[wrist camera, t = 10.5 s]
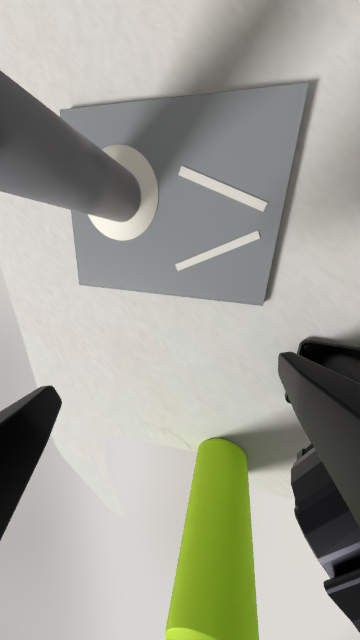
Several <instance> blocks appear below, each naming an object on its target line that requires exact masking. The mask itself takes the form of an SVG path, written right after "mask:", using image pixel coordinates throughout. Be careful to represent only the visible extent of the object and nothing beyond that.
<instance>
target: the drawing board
mask: <svg viewBox="0 0 360 640" xmlns="http://www.w3.org/2000/svg"><path fill="white" fill-rule="evenodd" d="M308 85H309V82H308V83H299V84H289V85H280V86H271V87H262V88H253V89H244V90H235V91H225V92H216V93H207V94H198V95H189V96H180V97H171V98H161V99H152V100H143V101H134V102H125V103H116V104H107V105H97V106H88V107H79V108H70V109H61V110H60V117H61V118H62V119H63V120H64V121H66V122H67V123H68V124H69V125H71V126H72V127H73V128H75V129H76V130H77V131H78V132H80V133H81V134H82V135H84V136H85V137H86V138H87V139H89V140H90V141H91V142H92V143H94V144H95V145H96V146H98V147H99V148H100V149H101V150H103V151H104V152H105V153H107V154H108V155H109V156H110V157H112V158H113V159H114V160H116V161H117V162H118V163H119V164H121V165H122V166H123V167H125V168H126V169H127V170H128V171H130V172H131V173H132V174H133V175H134V176H135V178H136V179H137V181H138V184H139V187H140V191H141V201H140V206H139V209H138V211H137V213H136V214H135V215H134V216H133V217H132V218H131V219H130V220H128V221H126V222H116V221H112V220H108V219H104V218H100V217H97V216H93V215H89V214H85V213H81V212H78V211H74V210H71V214H72V223H73V232H74V241H75V250H76V259H77V268H78V277H79V285H85V286H94V287H103V288H112V289H120V290H129V291H138V292H146V293H155V294H164V295H173V296H181V297H190V298H199V299H208V300H216V301H225V302H234V303H242V304H251V305H260V306H263V303H264V298H265V294H266V289H267V284H268V279H269V274H270V269H271V264H272V260H273V255H274V250H275V245H276V240H277V235H278V231H279V226H280V221H281V216H282V211H283V206H284V202H285V197H286V192H287V187H288V182H289V177H290V172H291V168H292V163H293V158H294V153H295V148H296V143H297V139H298V134H299V129H300V124H301V119H302V114H303V109H304V105H305V100H306V95H307V90H308Z"/></svg>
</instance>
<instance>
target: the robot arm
mask: <svg viewBox="0 0 360 640" xmlns="http://www.w3.org/2000/svg"><path fill="white" fill-rule="evenodd" d="M306 345H309V347H308V348H304V346H306ZM278 373H279V377H280V379H281V382H282V384H283V386H284V388H285V391H286V393H285V399H286V401H287V402H288V403H291V404H292V407H293V409H294V411H295V413H296V416H297V418H298V420H299V421H300V423H301V425H302V427H303V429H304V430H305V432H306V434H307V436H308V437H309V439H310V441H311V443H312V444H311V445H310V446H309V447H308V448H306V449H302V450H301V451H300V452H298V454H297V461H296V462H295V463H294V465H293V467H292V469H291V485H292V489H293V493H294V496H295V509H294V511H295V516H296V519H297V521H298V524H299V526H300V528H301V530H302V532H303V534H304V537H305V539H306V540H307V542H308V544H309V546H310V547H311V549H312V551H313V553H314V554H315V556H316V558H317V559H318V561H319V562H320V564H321V565H322V567H323V568H324V569H325V571H326V572H327V574H328V575H329V577H330V578H331V579H329V580H326V581H324V588H325V590H326V592H327V594H328V595H329V596H330V597H331V599H332V600H333V601H334V602H335V603H336V604H337V606H338V607H339V608H340V609H341V610H342V611H343V612H344V613H345V615H346V616H347V617H348V618H349V619H350V620H351V621H352V623H353V624H354V625H355V627H356V628H357V630H358V631H359V632H360V348H356V347H349V346H342V345H335V344H328V343H321V342H314V341H302V342H301V343H300V345H299V348H298V352H297V354H296V353H293V352H284V353H280V354H279V357H278ZM61 404H62V401H61V398H60V397H59V395H58V393H57V392H56V390H55V388H54V387H53V386H43V387H40V388H38V389H36V390H35V391H33V392H32V393H30V394H28V395H27V396H25V397H23V398H22V399H20V400H18V401H17V402H15V403H14V404H12V405H10V406H9V407H7V408H5V409H4V410H2V411H1V412H0V540H1V538H2V536H3V534H4V532H5V530H6V528H7V526H8V523H9V522H10V519H11V517H12V515H13V513H14V511H15V509H16V507H17V505H18V503H19V501H20V498H21V496H22V494H23V492H24V490H25V488H26V486H27V484H28V482H29V480H30V478H31V476H32V473H33V471H34V469H35V467H36V465H37V463H38V461H39V459H40V457H41V455H42V453H43V450H44V448H45V446H46V444H47V441H48V439H49V437H50V434H51V431H52V429H53V426H54V423H55V421H56V418H57V416H58V413H59V410H60V408H61Z"/></svg>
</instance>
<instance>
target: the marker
mask: <svg viewBox="0 0 360 640" xmlns="http://www.w3.org/2000/svg"><path fill="white" fill-rule="evenodd" d="M0 191H2V192H5V193H9V194H13V195H17V196H21V197H24V198H28V199H32V200H36V201H40V202H43V203H47V204H51V205H55V206H59V207H62V208H66V209H70V210H74V211H78V212H81V213H85V214H89V215H93V216H97V217H100V218H104V219H108V220H112V221H116V222H126V221H128V220H130V219H131V218H132V217H133V216H134V215H135V214H136V213H137V211H138V209H139V206H140V201H141V191H140V187H139V184H138V181H137V179H136V178H135V176H134V175H133V174H132V173H131V172H130V171H128V170H127V169H126V168H125V167H123V166H122V165H121V164H119V163H118V162H117V161H116V160H114V159H113V158H112V157H110V156H109V155H108V154H107V153H105V152H104V151H103V150H101V149H100V148H99V147H98V146H96V145H95V144H94V143H92V142H91V141H90V140H89V139H87V138H86V137H85V136H84V135H82V134H81V133H80V132H78V131H77V130H76V129H75V128H73V127H72V126H71V125H69V124H68V123H67V122H66V121H64V120H63V119H62V118H60V117H59V116H58V115H57V114H55V113H54V112H53V111H52V110H50V109H49V108H48V107H46V106H45V105H44V104H43V103H41V102H40V101H39V100H37V99H36V98H35V97H34V96H32V95H31V94H30V93H28V92H27V91H26V90H25V89H23V88H22V87H21V86H20V85H18V84H17V83H16V82H14V81H13V80H12V79H11V78H9V77H8V76H7V75H5V74H4V73H3V72H2V71H0Z"/></svg>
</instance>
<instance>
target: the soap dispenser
mask: <svg viewBox="0 0 360 640" xmlns="http://www.w3.org/2000/svg"><path fill="white" fill-rule="evenodd" d="M251 530H252V529H251V514H250V499H249V483H248V468H247V458H246V455H245V453H244V452H243V450H242V449H241V448H240V447H239V446H237V445H236V444H234V443H232V442H230V441H228V440H224V439H218V438H215V439H209V440H206V441H204V442H203V443H202V444H201V445H200V446H199V448H198V453H197V459H196V464H195V470H194V475H193V481H192V487H191V492H190V498H189V503H188V509H187V514H186V520H185V525H184V531H183V537H182V542H181V548H180V554H179V559H178V564H177V570H176V576H175V581H174V587H173V592H172V598H171V604H170V610H169V615H168V620H167V626H166V631H165V639H166V640H259V635H258V620H257V605H256V590H255V574H254V559H253V544H252V531H251Z"/></svg>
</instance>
